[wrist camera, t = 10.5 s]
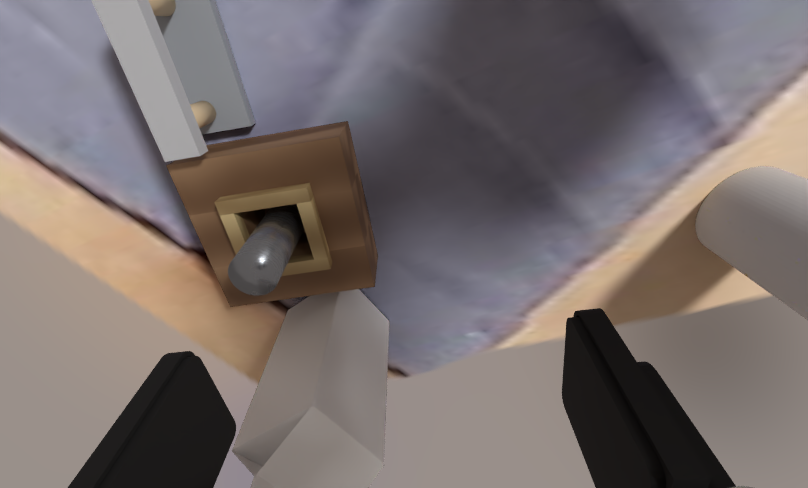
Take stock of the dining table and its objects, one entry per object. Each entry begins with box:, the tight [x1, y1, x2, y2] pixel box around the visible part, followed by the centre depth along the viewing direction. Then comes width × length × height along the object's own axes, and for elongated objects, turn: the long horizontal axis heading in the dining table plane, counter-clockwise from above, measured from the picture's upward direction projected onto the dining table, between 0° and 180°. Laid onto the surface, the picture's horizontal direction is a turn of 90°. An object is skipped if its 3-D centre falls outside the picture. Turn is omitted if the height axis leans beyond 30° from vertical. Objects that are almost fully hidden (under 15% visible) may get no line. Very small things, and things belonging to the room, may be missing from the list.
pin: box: [228, 204, 304, 296], centre depth 29 cm, size 3×3×10 cm
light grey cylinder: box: [695, 166, 808, 320], centre depth 29 cm, size 8×8×12 cm
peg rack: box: [92, 0, 255, 162], centre depth 26 cm, size 11×6×6 cm, turn 9°
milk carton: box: [232, 289, 389, 488], centre depth 31 cm, size 7×7×19 cm
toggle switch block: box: [167, 121, 378, 307], centre depth 31 cm, size 12×12×6 cm
